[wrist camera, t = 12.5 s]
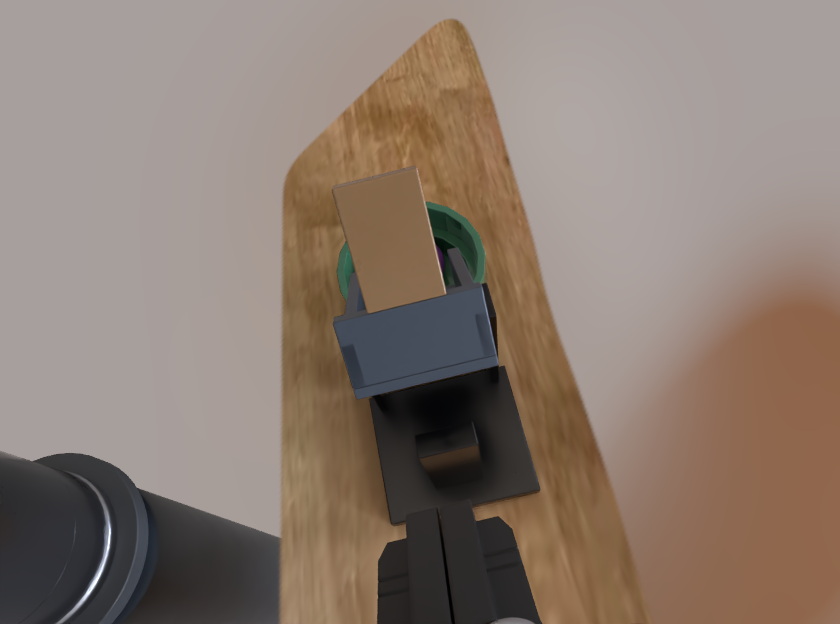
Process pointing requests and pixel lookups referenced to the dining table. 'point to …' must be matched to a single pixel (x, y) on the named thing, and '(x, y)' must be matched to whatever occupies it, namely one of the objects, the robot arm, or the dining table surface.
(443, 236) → the bowl
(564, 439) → the dining table surface
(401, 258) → the chute
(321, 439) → the dining table surface
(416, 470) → the stand
